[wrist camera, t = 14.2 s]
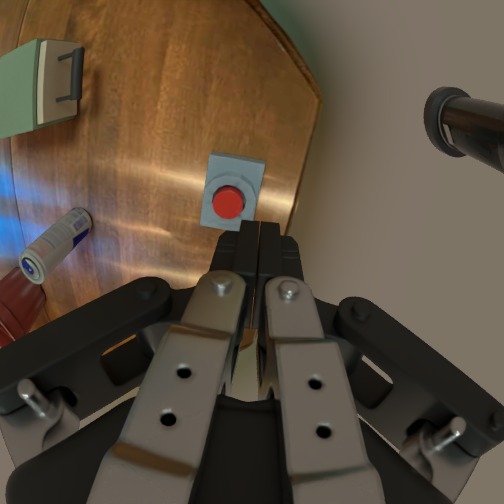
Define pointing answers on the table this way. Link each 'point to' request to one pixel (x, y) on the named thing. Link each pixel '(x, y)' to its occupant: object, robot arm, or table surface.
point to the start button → (228, 202)
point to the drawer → (58, 80)
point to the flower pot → (18, 305)
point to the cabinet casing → (21, 90)
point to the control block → (231, 175)
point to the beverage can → (54, 245)
